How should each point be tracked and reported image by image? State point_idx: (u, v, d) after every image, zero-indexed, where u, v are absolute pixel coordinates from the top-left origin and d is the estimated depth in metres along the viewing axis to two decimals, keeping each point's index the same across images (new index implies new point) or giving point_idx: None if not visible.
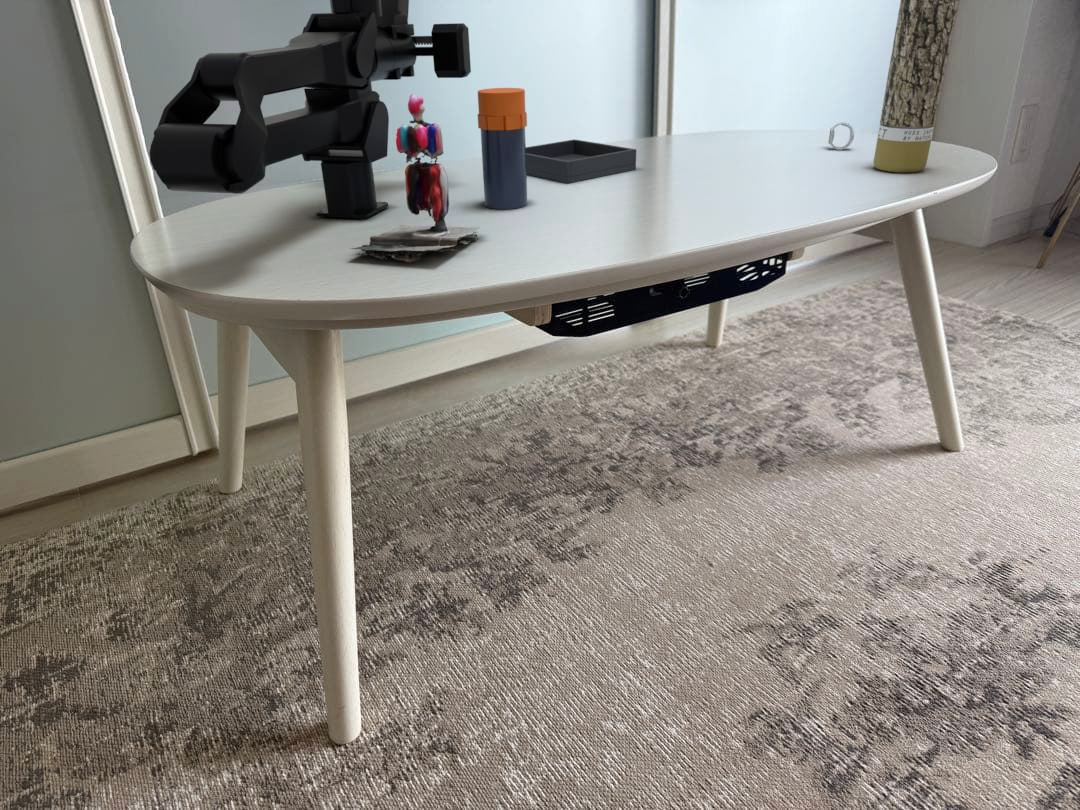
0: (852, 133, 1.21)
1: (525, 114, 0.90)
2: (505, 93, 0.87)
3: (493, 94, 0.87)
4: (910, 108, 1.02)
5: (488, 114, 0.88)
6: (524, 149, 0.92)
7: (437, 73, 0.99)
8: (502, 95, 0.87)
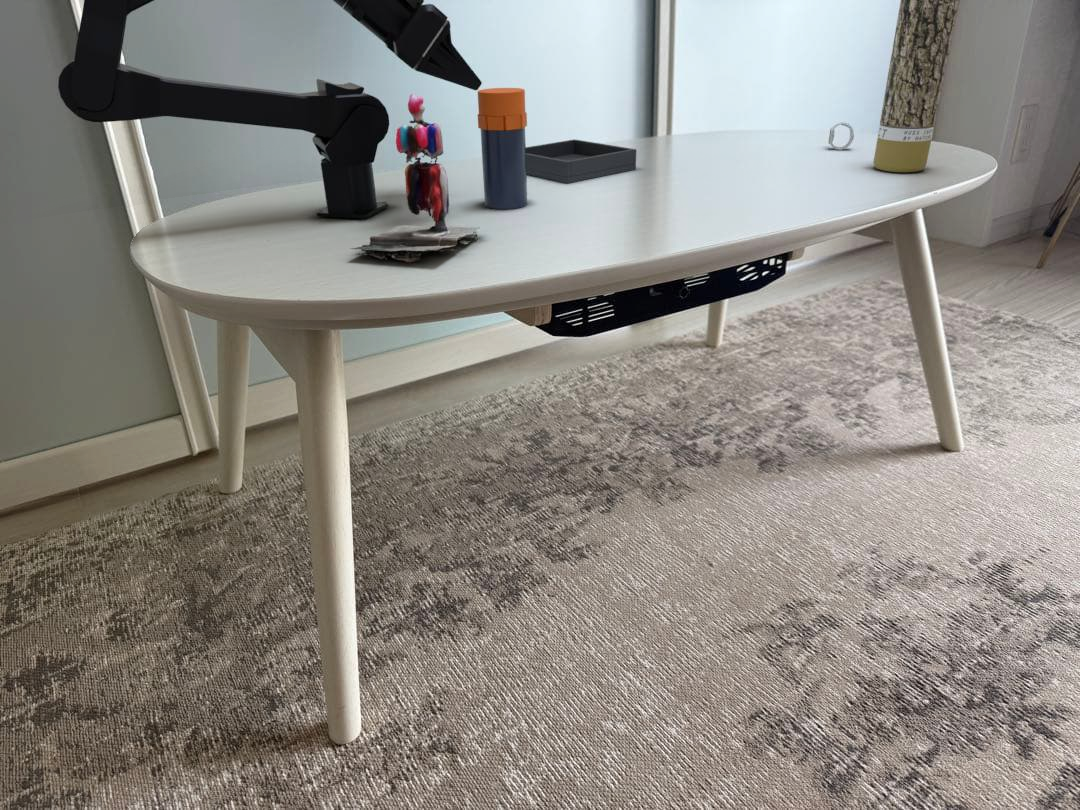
0: (852, 133, 1.21)
1: (525, 114, 0.90)
2: (505, 93, 0.87)
3: (493, 94, 0.87)
4: (910, 108, 1.02)
5: (488, 114, 0.88)
6: (524, 149, 0.92)
7: (393, 46, 0.82)
8: (502, 95, 0.87)
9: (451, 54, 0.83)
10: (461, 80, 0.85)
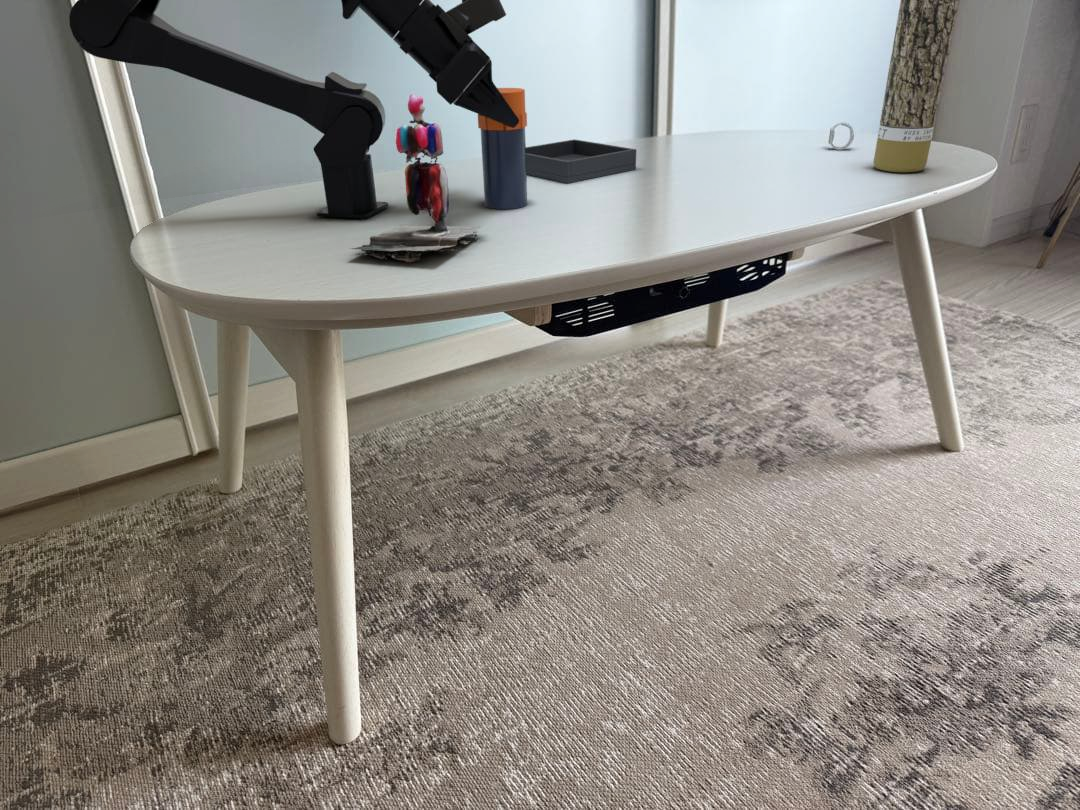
0: (852, 133, 1.21)
1: (525, 114, 0.90)
2: (505, 93, 0.87)
3: None
4: (910, 108, 1.02)
5: None
6: (524, 149, 0.92)
7: None
8: (502, 95, 0.87)
9: (491, 91, 0.85)
10: (499, 117, 0.87)
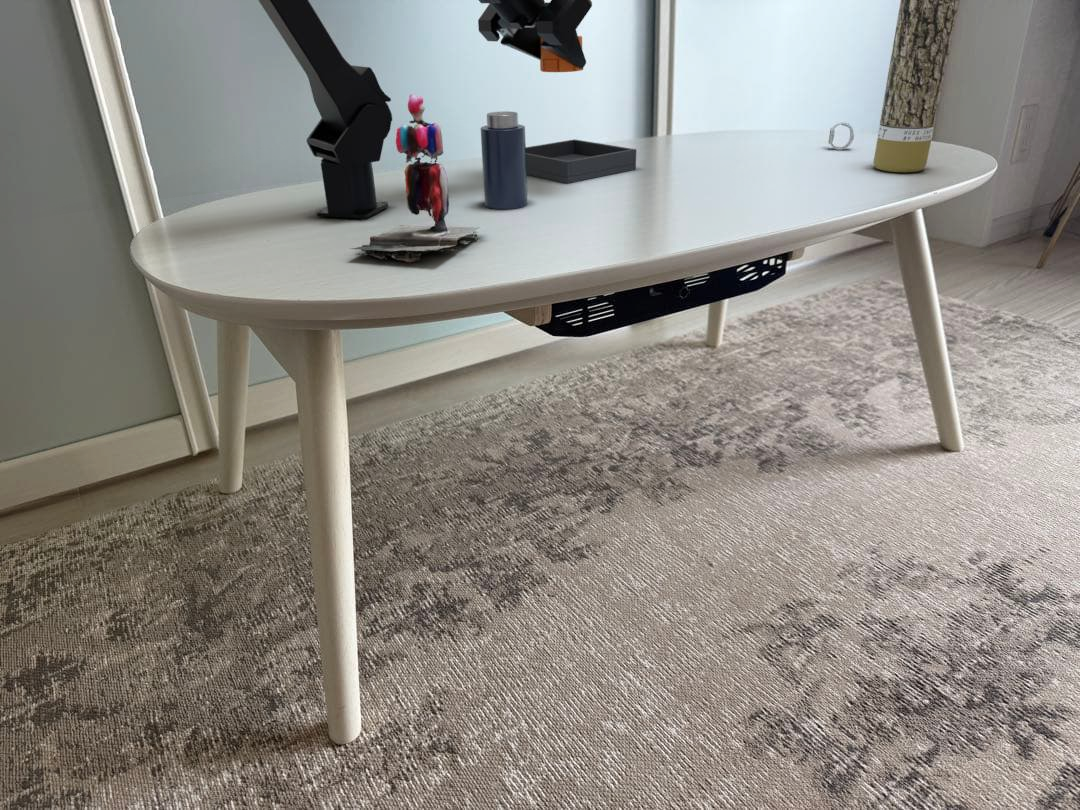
0: (852, 133, 1.21)
1: None
2: None
3: None
4: (910, 108, 1.02)
5: (559, 57, 1.00)
6: (524, 149, 0.92)
7: (538, 25, 0.92)
8: None
9: (571, 35, 0.97)
10: (574, 59, 0.99)
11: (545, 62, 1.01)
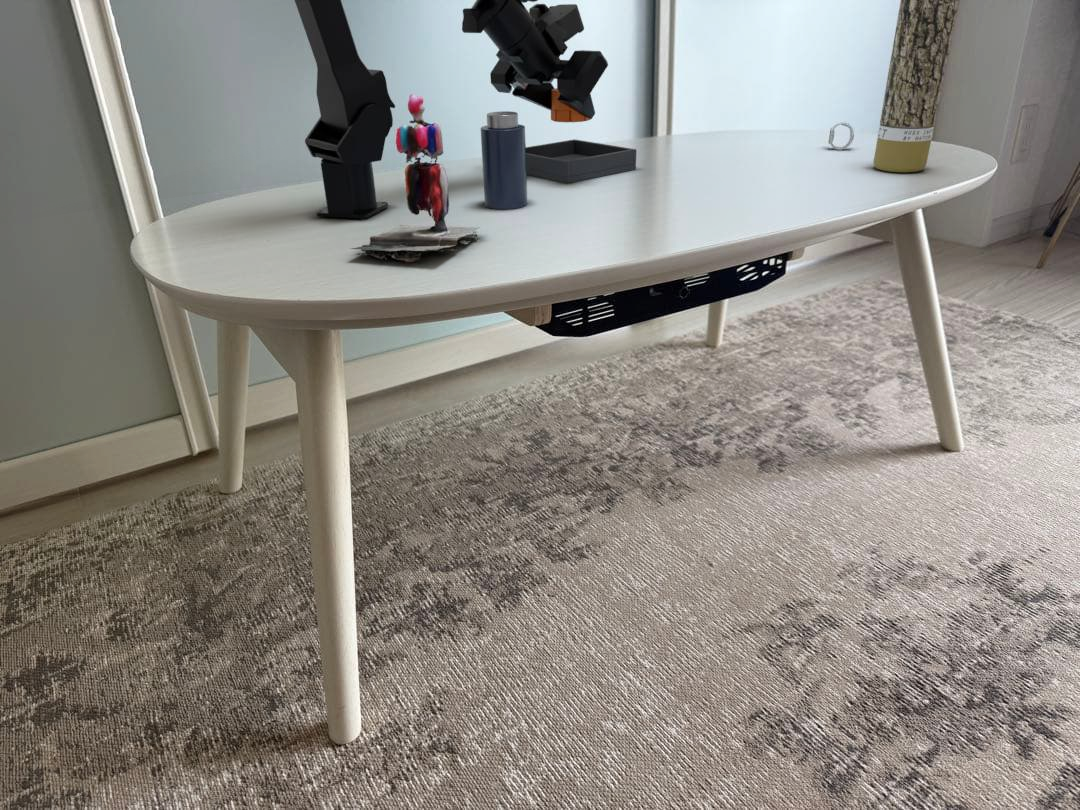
0: (852, 133, 1.21)
1: None
2: None
3: None
4: (910, 108, 1.02)
5: (571, 109, 1.07)
6: (524, 149, 0.92)
7: (558, 83, 0.99)
8: None
9: None
10: (586, 110, 1.06)
11: (557, 113, 1.08)
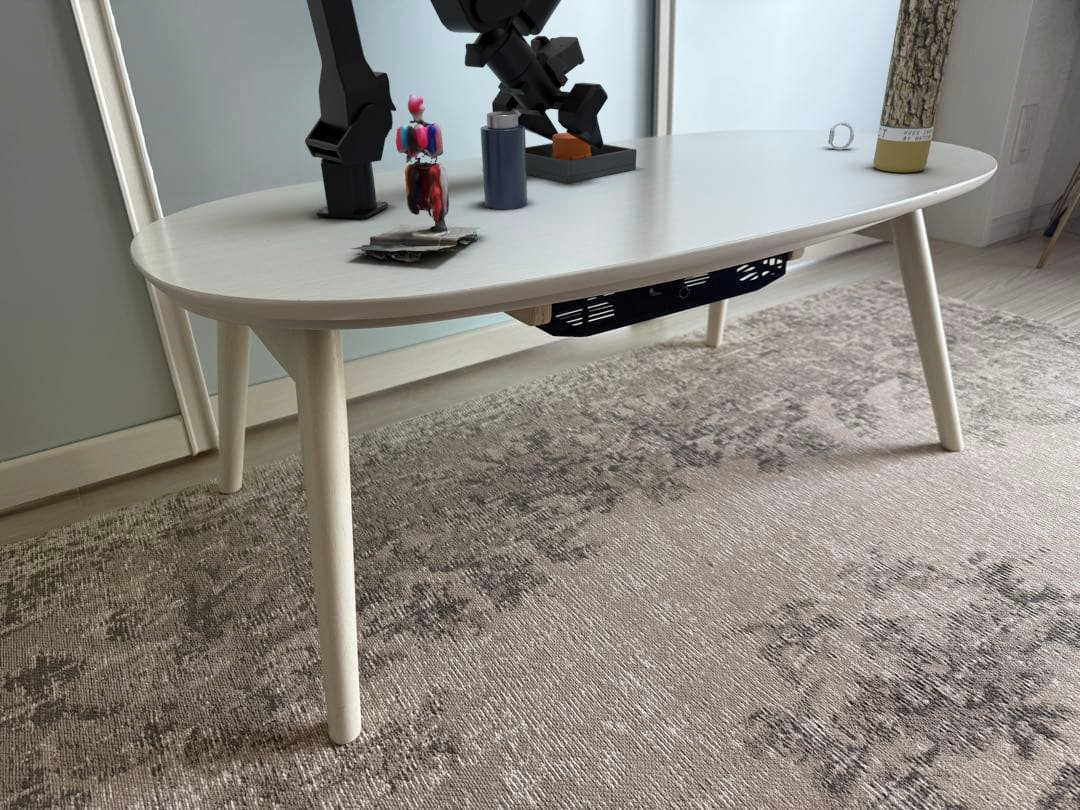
0: (852, 133, 1.21)
1: None
2: None
3: (577, 139, 1.09)
4: (910, 108, 1.02)
5: (572, 155, 1.10)
6: (524, 149, 0.92)
7: (559, 115, 1.01)
8: None
9: (593, 121, 1.05)
10: (594, 141, 1.07)
11: (558, 158, 1.11)
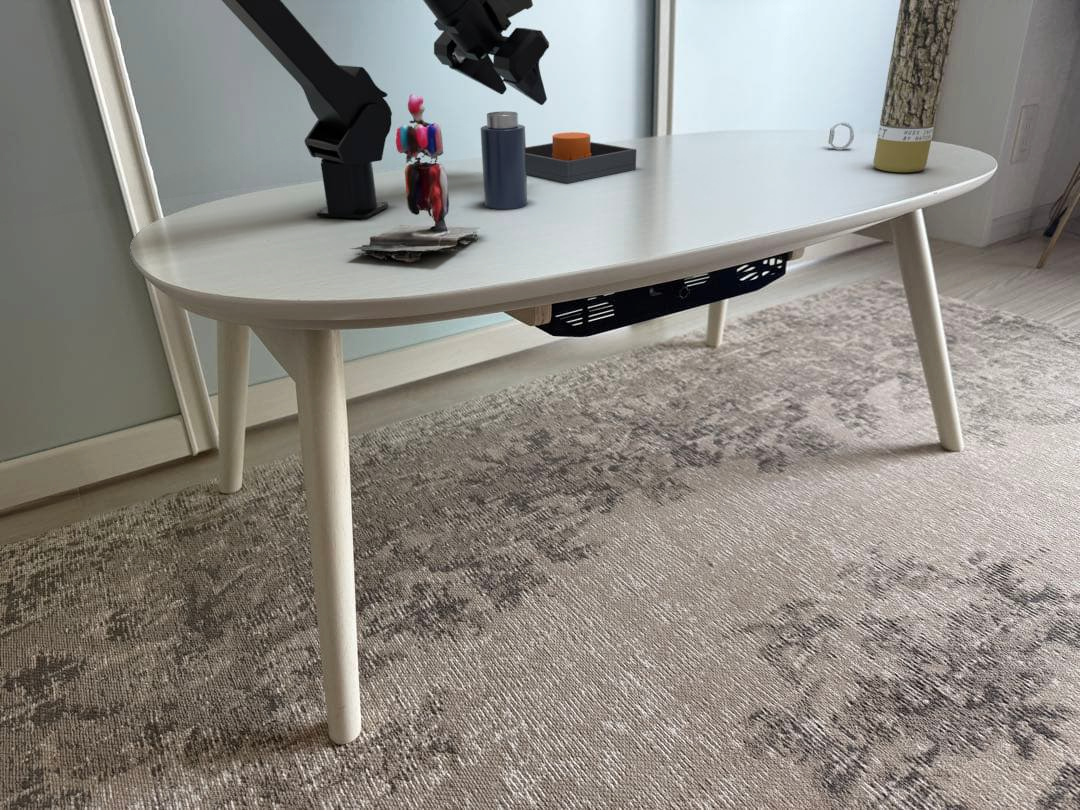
0: (852, 133, 1.21)
1: None
2: (585, 137, 1.09)
3: (577, 139, 1.09)
4: (910, 108, 1.02)
5: (572, 155, 1.10)
6: (524, 149, 0.92)
7: (494, 60, 0.93)
8: (584, 139, 1.09)
9: (534, 73, 0.97)
10: (535, 95, 0.99)
11: (558, 158, 1.11)
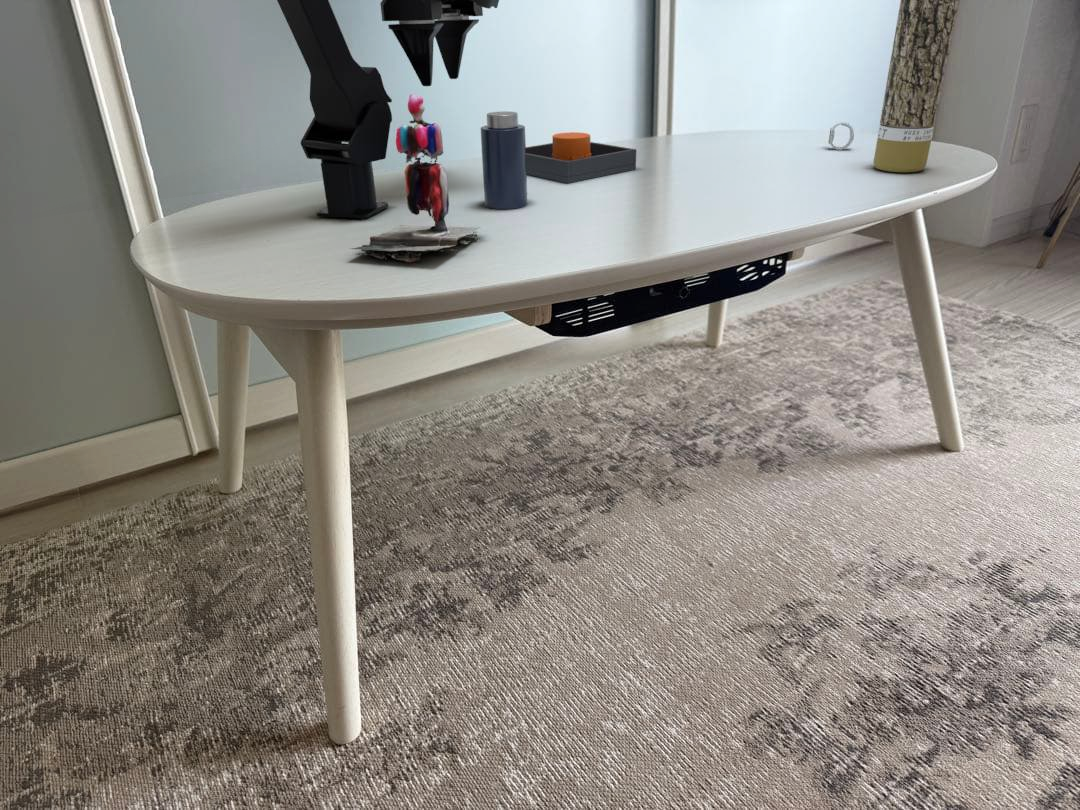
0: (852, 133, 1.21)
1: None
2: (585, 137, 1.09)
3: (577, 139, 1.09)
4: (910, 108, 1.02)
5: (572, 155, 1.10)
6: (524, 149, 0.92)
7: None
8: (584, 139, 1.09)
9: (424, 45, 0.92)
10: (417, 68, 0.94)
11: (558, 158, 1.11)
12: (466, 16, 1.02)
